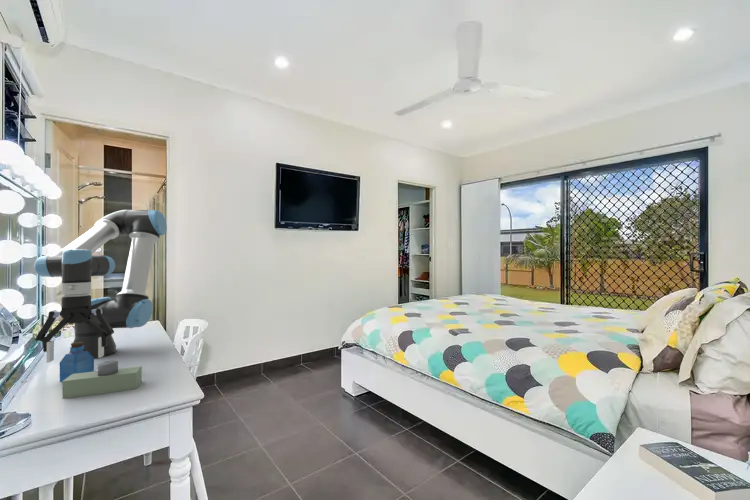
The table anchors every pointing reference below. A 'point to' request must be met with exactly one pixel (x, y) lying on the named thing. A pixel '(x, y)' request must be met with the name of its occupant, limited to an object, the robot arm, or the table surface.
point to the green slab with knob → (102, 380)
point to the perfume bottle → (76, 361)
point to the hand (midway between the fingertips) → (76, 359)
